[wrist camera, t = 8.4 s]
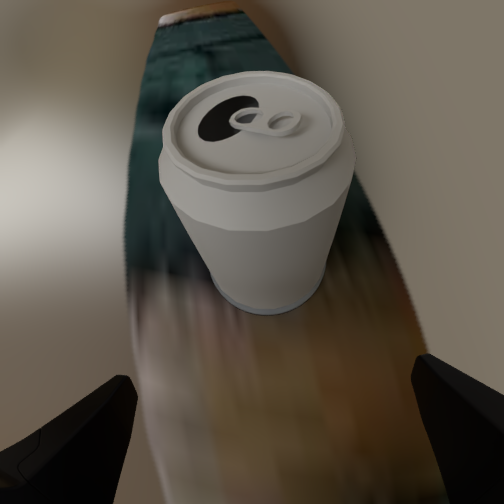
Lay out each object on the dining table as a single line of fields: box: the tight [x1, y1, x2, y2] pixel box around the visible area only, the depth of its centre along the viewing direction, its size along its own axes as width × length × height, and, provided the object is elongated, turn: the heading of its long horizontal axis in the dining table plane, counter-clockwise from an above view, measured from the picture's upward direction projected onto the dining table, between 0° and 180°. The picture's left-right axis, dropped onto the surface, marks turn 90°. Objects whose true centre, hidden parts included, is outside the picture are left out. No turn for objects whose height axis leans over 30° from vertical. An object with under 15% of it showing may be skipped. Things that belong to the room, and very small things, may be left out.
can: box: [159, 71, 356, 309], centre depth 14 cm, size 8×8×12 cm
